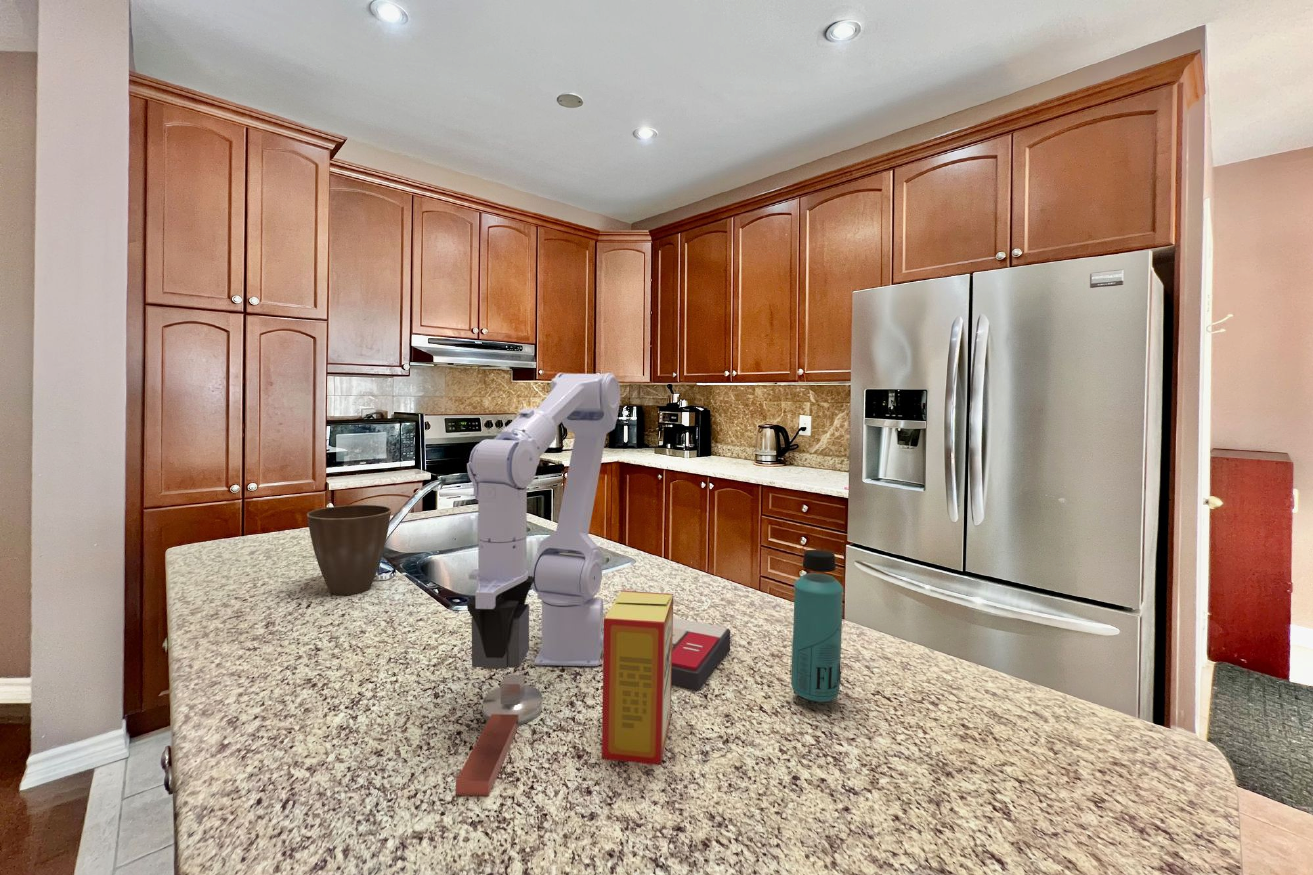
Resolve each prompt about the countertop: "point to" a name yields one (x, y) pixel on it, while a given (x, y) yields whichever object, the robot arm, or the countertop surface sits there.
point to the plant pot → (349, 545)
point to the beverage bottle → (817, 630)
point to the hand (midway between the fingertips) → (502, 645)
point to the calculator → (696, 652)
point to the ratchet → (498, 733)
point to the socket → (515, 644)
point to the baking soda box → (637, 677)
